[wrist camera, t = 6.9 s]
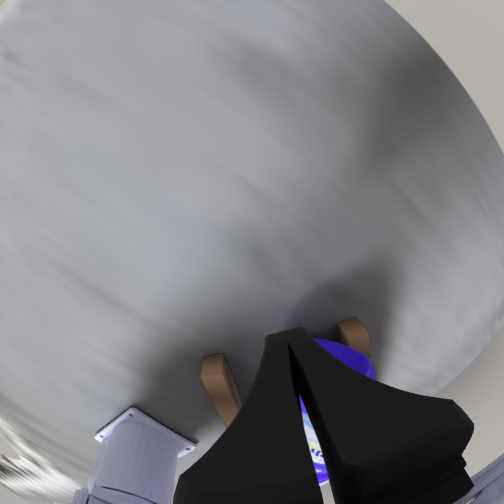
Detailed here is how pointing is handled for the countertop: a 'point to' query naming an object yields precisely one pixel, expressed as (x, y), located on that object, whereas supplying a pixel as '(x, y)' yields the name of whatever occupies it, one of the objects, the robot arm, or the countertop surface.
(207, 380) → the cradle
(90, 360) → the countertop surface
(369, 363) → the bottle
